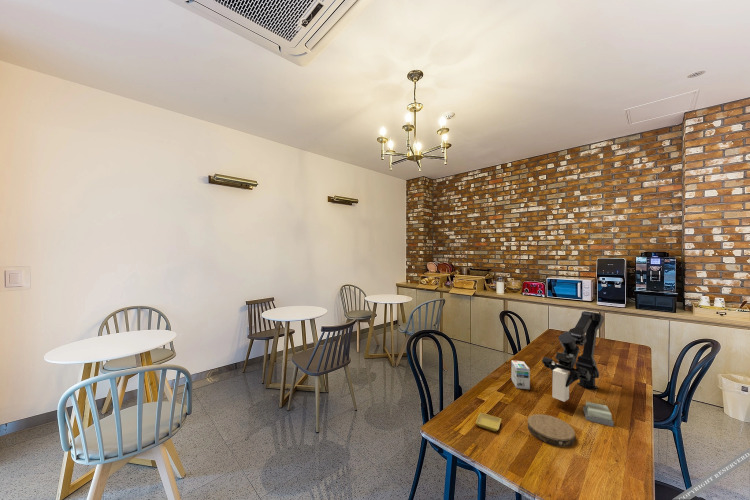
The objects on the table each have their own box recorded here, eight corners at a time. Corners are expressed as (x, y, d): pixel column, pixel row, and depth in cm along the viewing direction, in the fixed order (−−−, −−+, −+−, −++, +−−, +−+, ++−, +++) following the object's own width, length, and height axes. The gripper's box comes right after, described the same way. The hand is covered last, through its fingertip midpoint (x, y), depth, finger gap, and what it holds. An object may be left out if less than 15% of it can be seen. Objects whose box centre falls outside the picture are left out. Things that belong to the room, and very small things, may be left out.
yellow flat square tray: (498, 434, 112) (498, 429, 112) (475, 427, 117) (475, 422, 117) (501, 423, 119) (501, 418, 119) (480, 416, 124) (480, 412, 124)
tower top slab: (585, 406, 129) (585, 401, 129) (606, 411, 125) (607, 405, 125) (588, 415, 122) (589, 409, 122) (611, 420, 118) (611, 414, 118)
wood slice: (520, 420, 121) (520, 413, 121) (558, 421, 121) (558, 414, 121) (540, 446, 105) (540, 438, 105) (585, 448, 105) (585, 439, 105)
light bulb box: (530, 389, 148) (530, 368, 148) (516, 388, 149) (516, 367, 149) (523, 380, 158) (524, 361, 158) (510, 379, 159) (510, 359, 159)
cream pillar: (557, 394, 136) (557, 367, 136) (569, 398, 132) (569, 371, 132) (552, 397, 133) (552, 370, 133) (564, 401, 129) (564, 374, 129)
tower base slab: (583, 411, 130) (583, 405, 130) (608, 417, 125) (608, 411, 125) (586, 421, 122) (586, 415, 122) (613, 428, 117) (613, 422, 117)
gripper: (543, 340, 142) (532, 368, 136) (588, 351, 127) (578, 383, 121) (550, 352, 147) (540, 380, 141) (594, 365, 132) (585, 396, 126)
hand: (559, 384), depth 132 cm, fingers closed on cream pillar, 5 cm apart
